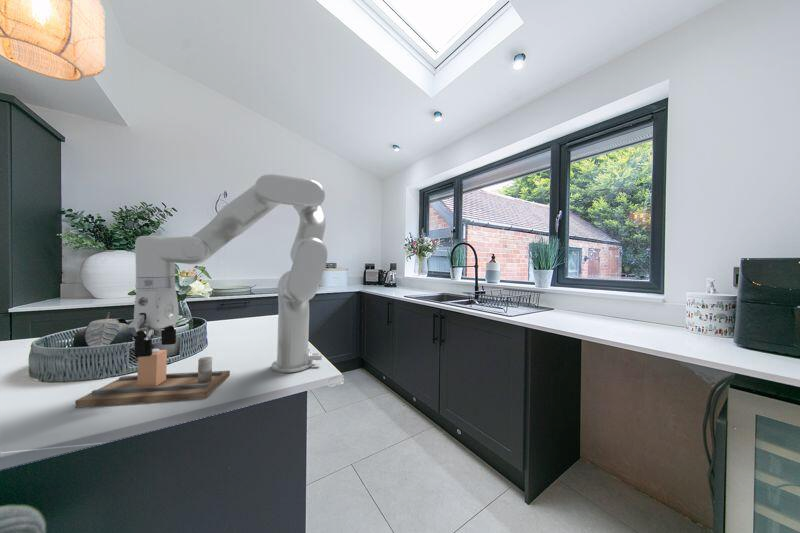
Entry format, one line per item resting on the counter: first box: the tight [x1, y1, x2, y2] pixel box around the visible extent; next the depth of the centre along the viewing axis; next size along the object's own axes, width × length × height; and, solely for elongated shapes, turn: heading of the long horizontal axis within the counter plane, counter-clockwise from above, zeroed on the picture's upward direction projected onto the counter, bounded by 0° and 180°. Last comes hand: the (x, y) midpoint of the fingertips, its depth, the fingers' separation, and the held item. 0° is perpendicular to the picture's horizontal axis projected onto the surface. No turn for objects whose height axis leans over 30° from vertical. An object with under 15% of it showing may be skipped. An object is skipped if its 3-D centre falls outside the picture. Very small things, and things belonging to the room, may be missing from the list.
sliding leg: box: [136, 348, 168, 387], centre depth 69 cm, size 4×4×9 cm
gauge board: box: [74, 356, 231, 408], centre depth 70 cm, size 26×14×8 cm, turn 102°
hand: (157, 349), depth 70 cm, fingers open, 9 cm apart
